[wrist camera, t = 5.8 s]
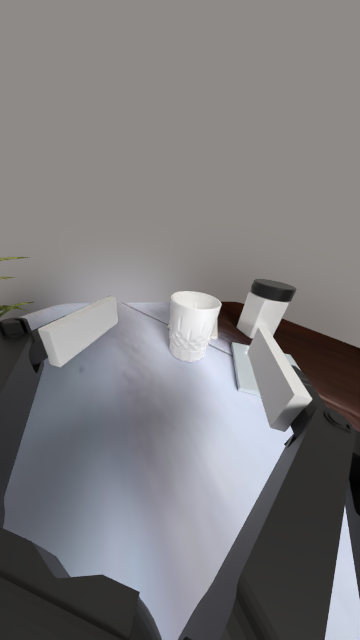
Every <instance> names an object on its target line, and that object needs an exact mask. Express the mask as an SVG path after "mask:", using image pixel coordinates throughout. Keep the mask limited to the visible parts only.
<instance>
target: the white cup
mask: <svg viewBox="0 0 360 640" xmlns="http://www.w3.org/2000/svg"><path fill="white" fill-rule="evenodd" d="M221 305H222V304H221V302H220V301H219V300H218V299H217V298H215V297H213V296H210V295H207V294H204V293H200V292H193V291H180V292H176V293H174V294H172V295H171V302H170V326H169V337H170V343H169V350H170V352H171V353H172V355H173V356H174V357H176V358H177V359H179V360H181V361H186V362H194V361H198V360H200V359H202V358H203V357H204V354H205V352H206V349H207V346H208V344H209V342H210V339H211V336H212V333H213V330H214V327H215V324H216V321H217V318H218V314H219V311H220V308H221Z"/></svg>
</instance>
